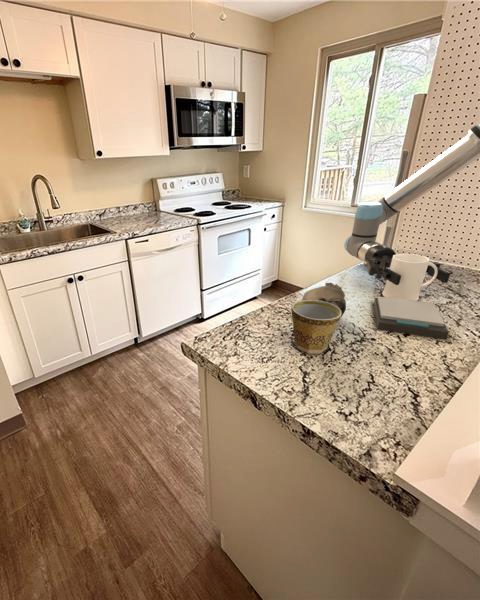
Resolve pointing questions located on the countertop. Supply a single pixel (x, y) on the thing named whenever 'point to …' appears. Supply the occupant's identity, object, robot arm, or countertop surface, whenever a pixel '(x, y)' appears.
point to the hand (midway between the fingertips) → (422, 279)
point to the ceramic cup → (314, 324)
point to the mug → (408, 276)
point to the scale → (409, 317)
